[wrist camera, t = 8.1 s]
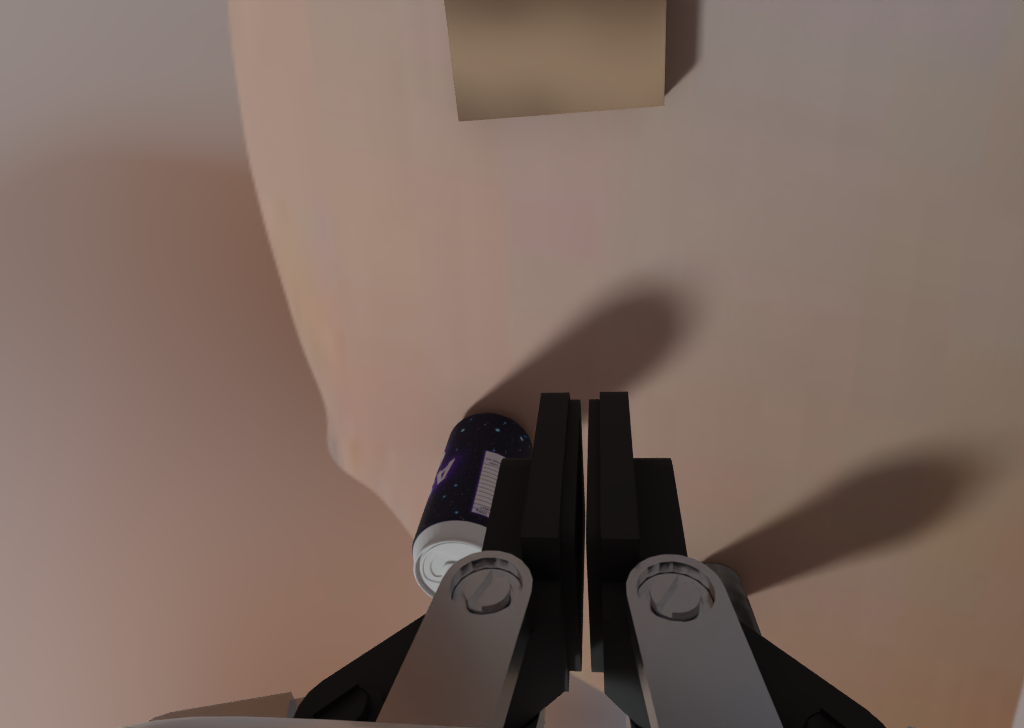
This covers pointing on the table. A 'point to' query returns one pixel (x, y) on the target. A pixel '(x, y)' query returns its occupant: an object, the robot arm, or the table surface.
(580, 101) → the slotted wooden board
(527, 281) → the table surface
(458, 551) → the beverage can
